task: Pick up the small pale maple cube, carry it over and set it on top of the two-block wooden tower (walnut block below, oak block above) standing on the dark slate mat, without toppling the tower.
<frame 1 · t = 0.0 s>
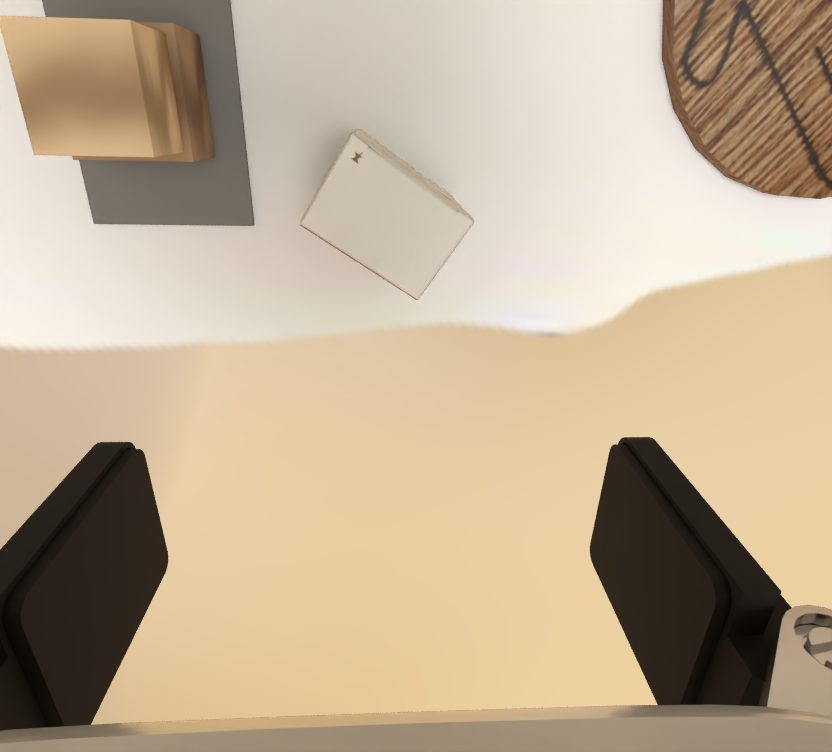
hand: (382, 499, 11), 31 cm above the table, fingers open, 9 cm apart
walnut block: (152, 97, 34), resting on slate mat, touching oak block
slate mat: (154, 97, 35), on the table
small box: (386, 197, 38), on the table
oak block: (121, 94, 30), point 5 cm above the table, touching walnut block
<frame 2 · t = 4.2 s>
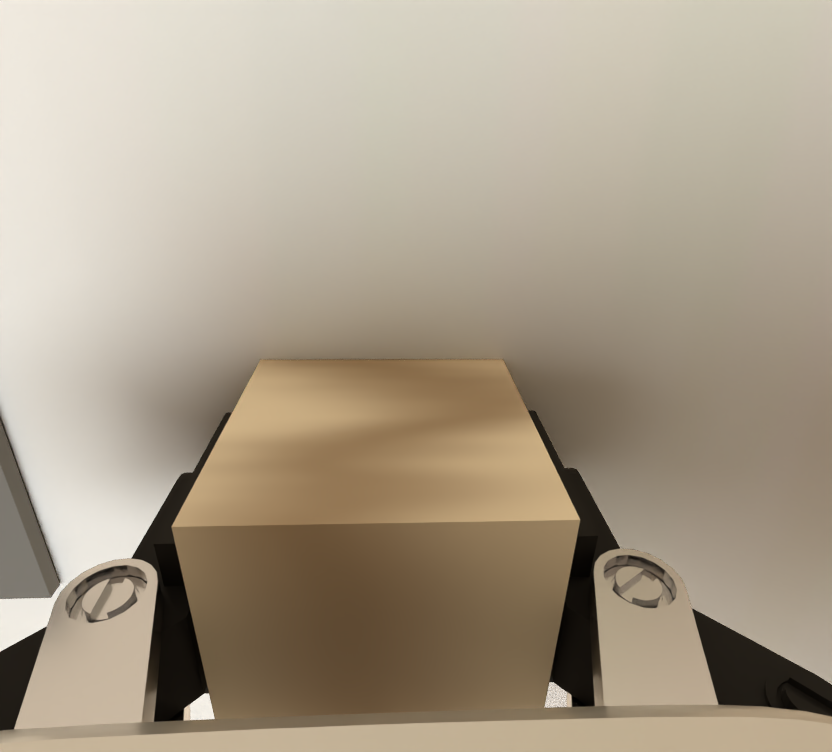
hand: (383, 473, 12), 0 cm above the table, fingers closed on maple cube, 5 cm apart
maple cube: (383, 460, 12), on the table, touching gripper
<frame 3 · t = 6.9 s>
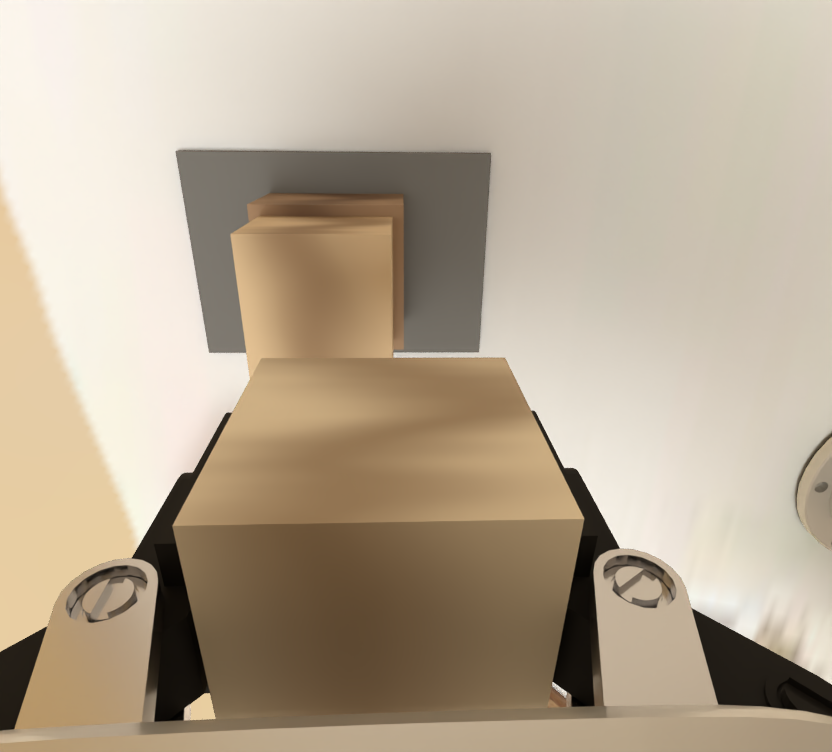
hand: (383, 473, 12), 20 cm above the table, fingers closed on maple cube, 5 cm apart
maple cube: (385, 459, 12), point 20 cm above the table, touching gripper
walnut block: (340, 260, 30), resting on slate mat, touching oak block
slate mat: (340, 258, 30), on the table
oak block: (330, 281, 26), point 5 cm above the table, touching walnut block
when the fingers open (11 cm above the table, at t = 9.8 s): maple cube stays where it is, resting on oak block.
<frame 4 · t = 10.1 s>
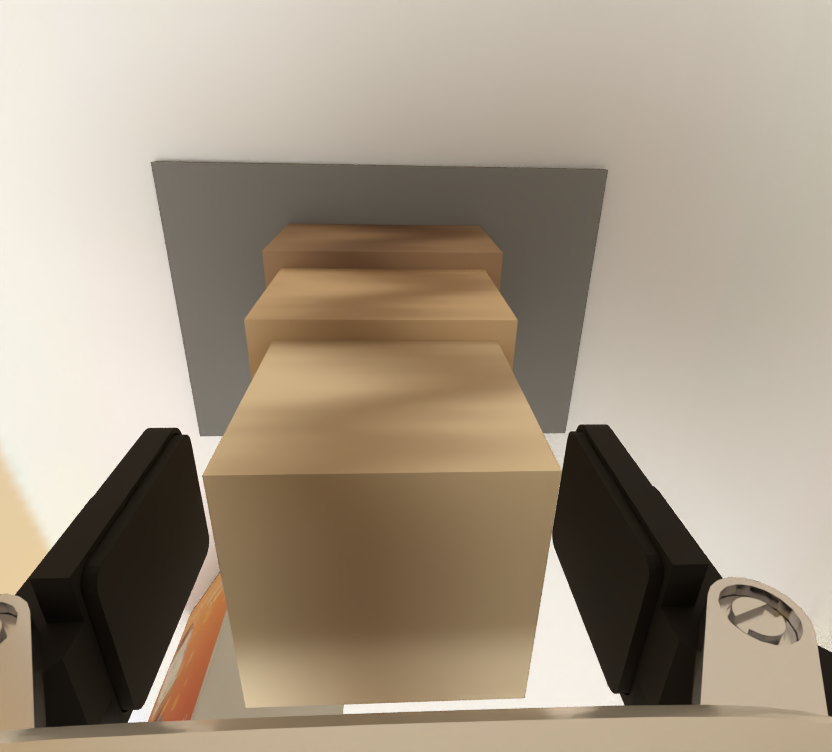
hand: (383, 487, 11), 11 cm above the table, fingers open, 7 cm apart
maple cube: (386, 435, 13), point 9 cm above the table, touching oak block
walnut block: (385, 315, 21), resting on slate mat, touching oak block
slate mat: (385, 312, 22), on the table
small box: (271, 585, 28), on the table
oak block: (384, 361, 17), point 5 cm above the table, touching maple cube, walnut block
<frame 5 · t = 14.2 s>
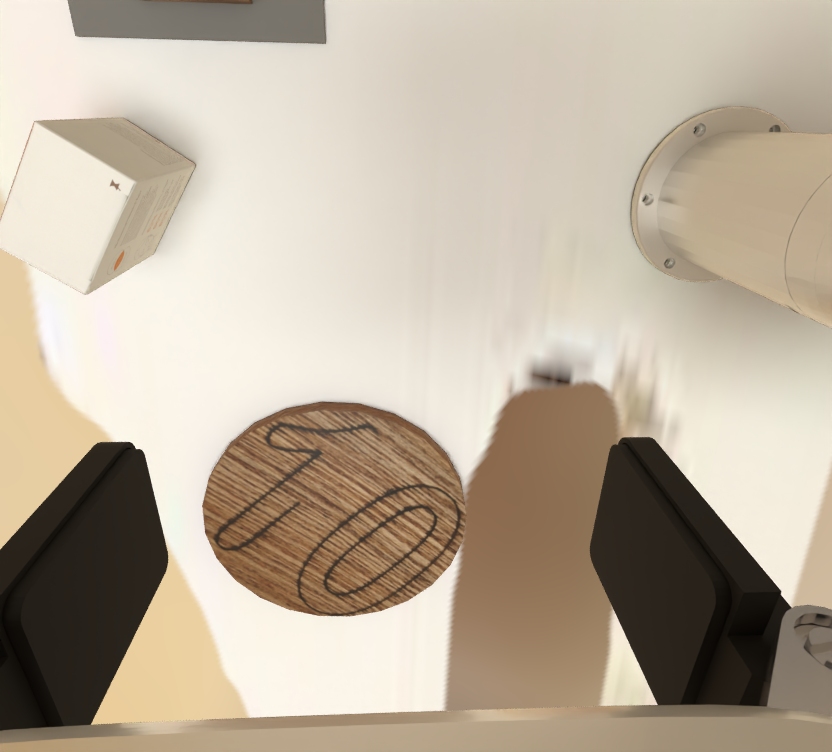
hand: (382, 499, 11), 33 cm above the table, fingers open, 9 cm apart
trivet: (338, 509, 53), on the table
small box: (140, 189, 39), on the table
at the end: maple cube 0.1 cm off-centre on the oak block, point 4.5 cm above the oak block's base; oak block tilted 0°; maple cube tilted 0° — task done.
